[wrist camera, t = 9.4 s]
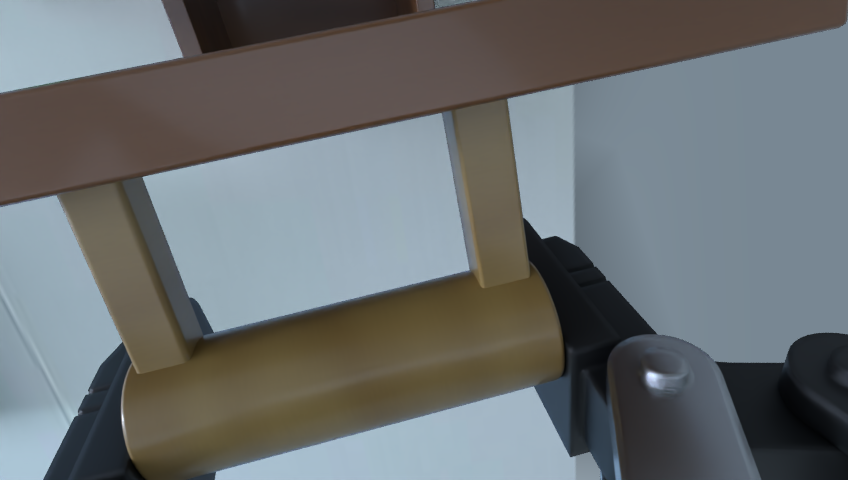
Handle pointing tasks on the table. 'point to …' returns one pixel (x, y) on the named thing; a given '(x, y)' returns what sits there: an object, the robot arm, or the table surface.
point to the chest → (270, 19)
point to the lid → (319, 118)
